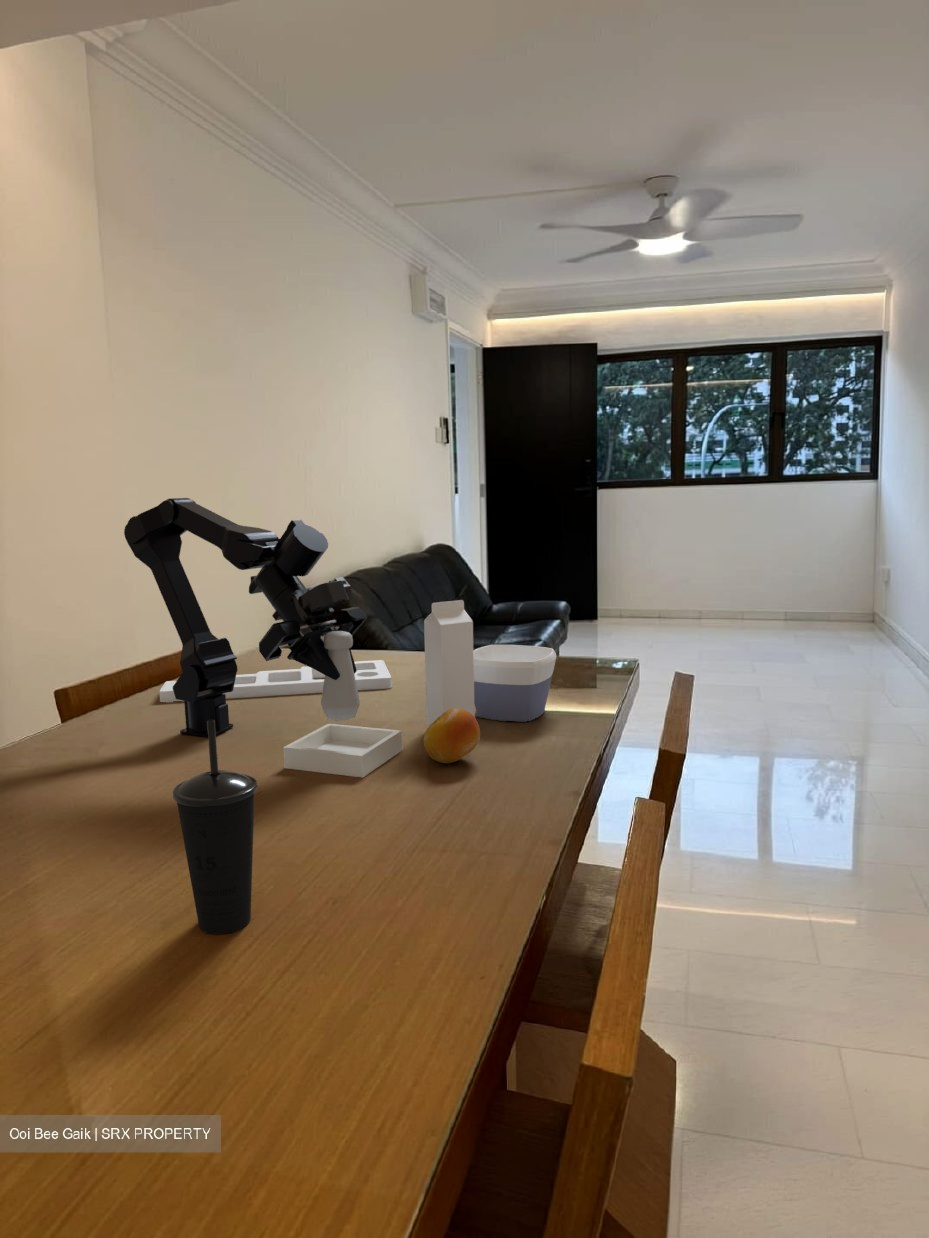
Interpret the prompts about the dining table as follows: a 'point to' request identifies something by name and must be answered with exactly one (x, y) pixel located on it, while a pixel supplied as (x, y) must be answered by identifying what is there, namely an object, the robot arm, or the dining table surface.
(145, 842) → the dining table surface
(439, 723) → the fruit
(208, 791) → the drinking cup
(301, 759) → the dish
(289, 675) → the holder
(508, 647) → the bowl
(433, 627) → the milk
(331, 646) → the salt shaker
